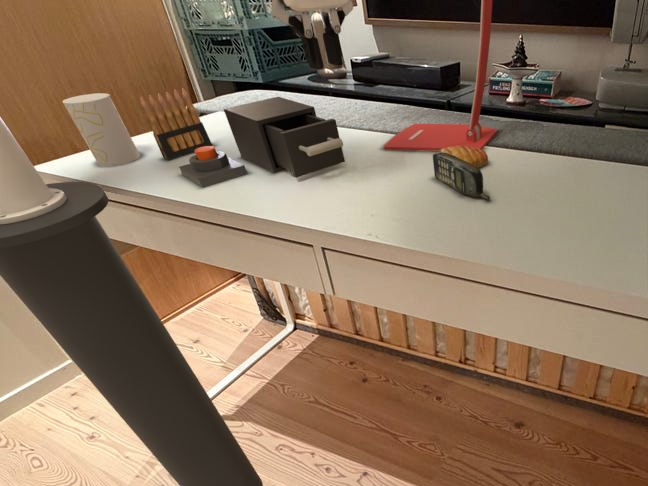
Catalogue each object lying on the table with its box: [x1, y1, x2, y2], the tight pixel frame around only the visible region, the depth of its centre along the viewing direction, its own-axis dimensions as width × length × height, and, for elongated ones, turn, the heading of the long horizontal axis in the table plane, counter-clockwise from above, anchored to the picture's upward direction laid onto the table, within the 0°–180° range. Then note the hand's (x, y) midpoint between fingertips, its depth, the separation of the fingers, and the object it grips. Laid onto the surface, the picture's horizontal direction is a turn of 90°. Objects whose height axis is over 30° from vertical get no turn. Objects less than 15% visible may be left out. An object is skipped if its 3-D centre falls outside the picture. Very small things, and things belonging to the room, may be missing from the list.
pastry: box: [440, 145, 489, 169], centre depth 89 cm, size 9×7×4 cm
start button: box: [194, 145, 218, 160], centre depth 89 cm, size 4×4×2 cm
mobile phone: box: [432, 152, 491, 200], centre depth 80 cm, size 5×3×15 cm
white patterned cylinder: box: [61, 92, 141, 167], centre depth 97 cm, size 8×8×12 cm
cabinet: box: [223, 96, 317, 174], centre depth 95 cm, size 15×12×10 cm
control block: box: [178, 150, 248, 188], centre depth 91 cm, size 9×10×4 cm
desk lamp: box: [383, 0, 498, 152], centre depth 91 cm, size 18×38×40 cm, turn 73°
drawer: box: [262, 114, 346, 179], centre depth 89 cm, size 18×11×8 cm, turn 46°
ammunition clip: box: [140, 87, 213, 161], centre depth 99 cm, size 11×2×12 cm, turn 146°
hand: (326, 65), depth 71 cm, fingers closed
